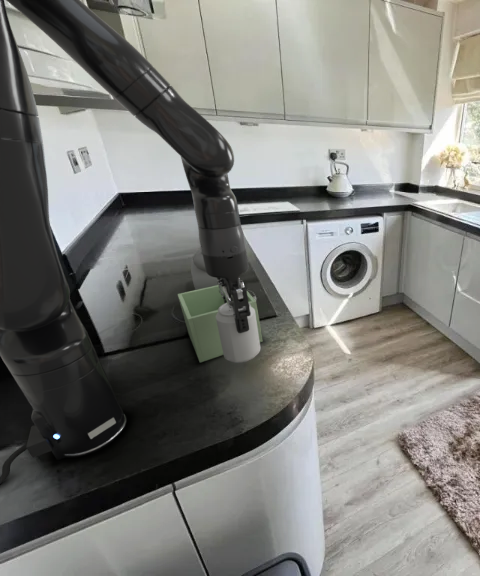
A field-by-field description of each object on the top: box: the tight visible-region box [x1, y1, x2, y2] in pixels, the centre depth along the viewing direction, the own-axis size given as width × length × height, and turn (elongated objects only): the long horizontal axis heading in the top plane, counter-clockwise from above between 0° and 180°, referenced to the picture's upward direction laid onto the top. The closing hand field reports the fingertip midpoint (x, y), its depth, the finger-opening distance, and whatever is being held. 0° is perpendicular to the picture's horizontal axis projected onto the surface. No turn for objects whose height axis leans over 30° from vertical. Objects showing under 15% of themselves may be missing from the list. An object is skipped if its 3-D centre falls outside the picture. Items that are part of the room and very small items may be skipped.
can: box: [216, 303, 261, 364], centre depth 68 cm, size 8×8×12 cm
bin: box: [177, 285, 264, 363], centre depth 81 cm, size 15×15×12 cm
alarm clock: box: [190, 248, 218, 290], centre depth 97 cm, size 16×9×22 cm, turn 12°
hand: (237, 322), depth 68 cm, fingers closed on can, 7 cm apart
